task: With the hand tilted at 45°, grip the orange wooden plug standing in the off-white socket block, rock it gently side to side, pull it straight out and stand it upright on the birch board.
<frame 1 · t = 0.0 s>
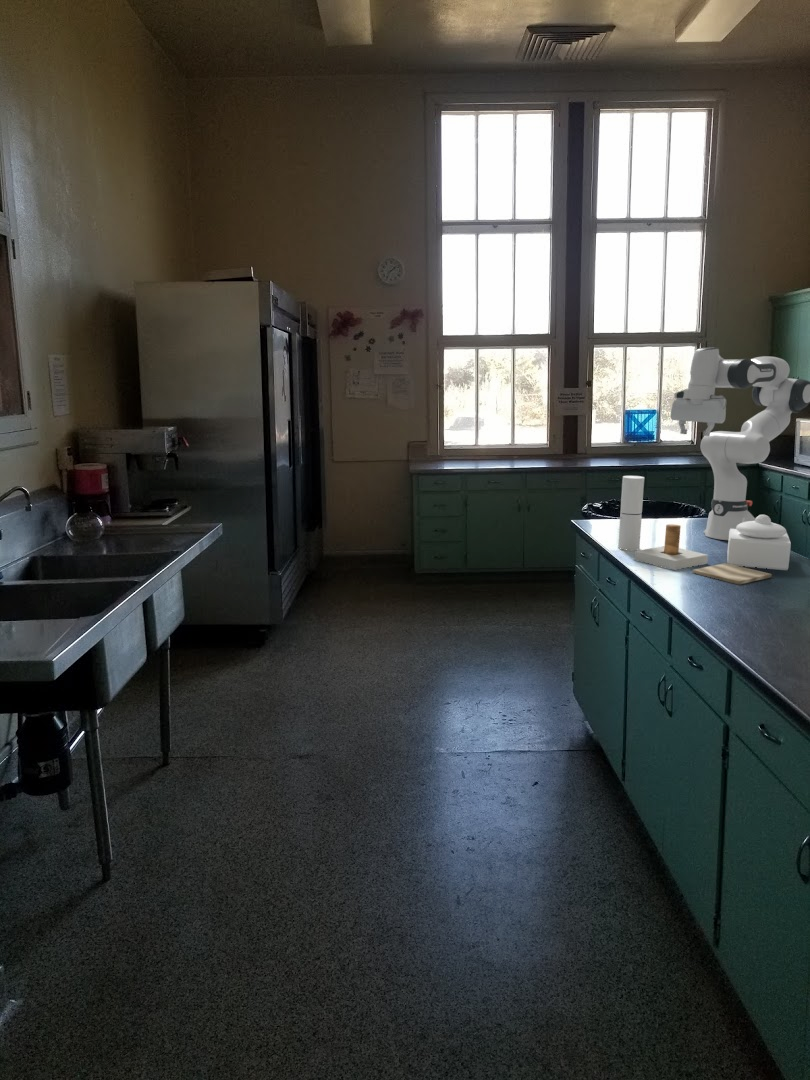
hand: (694, 435, 275), 39 cm above the counter, tool pointing down, fingers open, 8 cm apart
board: (731, 575, 240), on the counter
butter dish: (756, 562, 258), on the counter
socket block: (670, 561, 257), on the counter
cylindrical container: (628, 548, 276), on the counter
plug: (671, 543, 255), in the socket block
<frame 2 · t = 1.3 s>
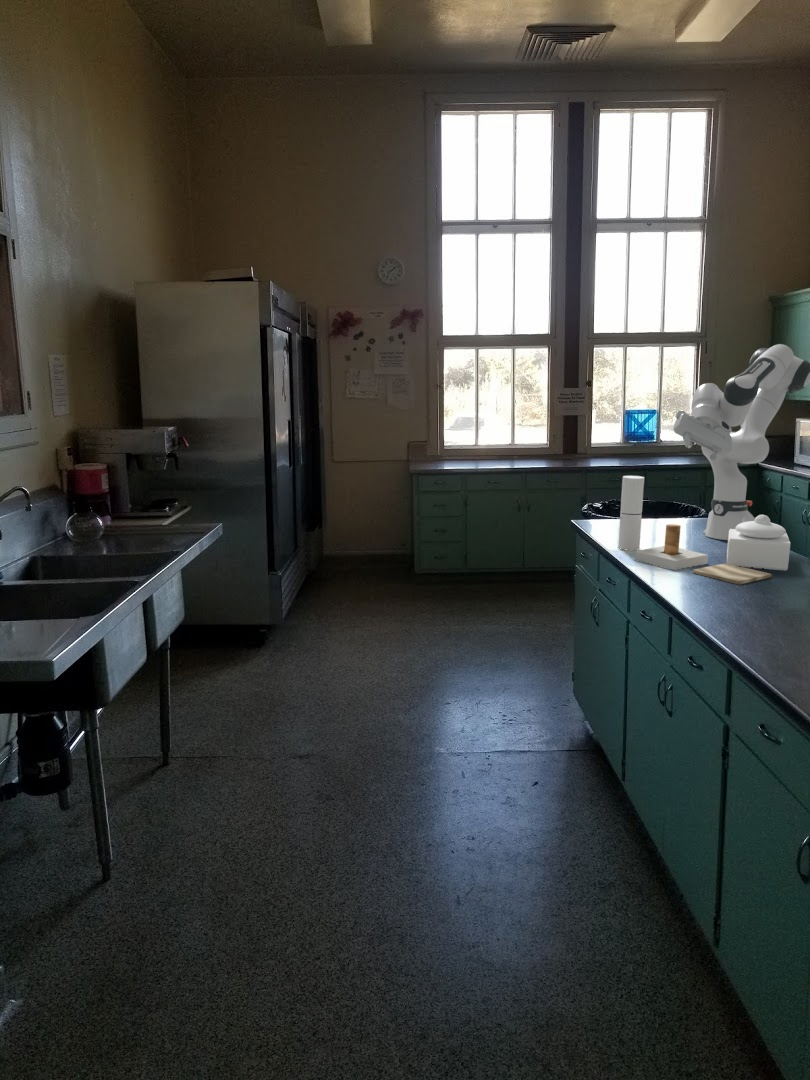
hand: (701, 452, 254), 35 cm above the counter, tool tilted 50°, fingers open, 8 cm apart
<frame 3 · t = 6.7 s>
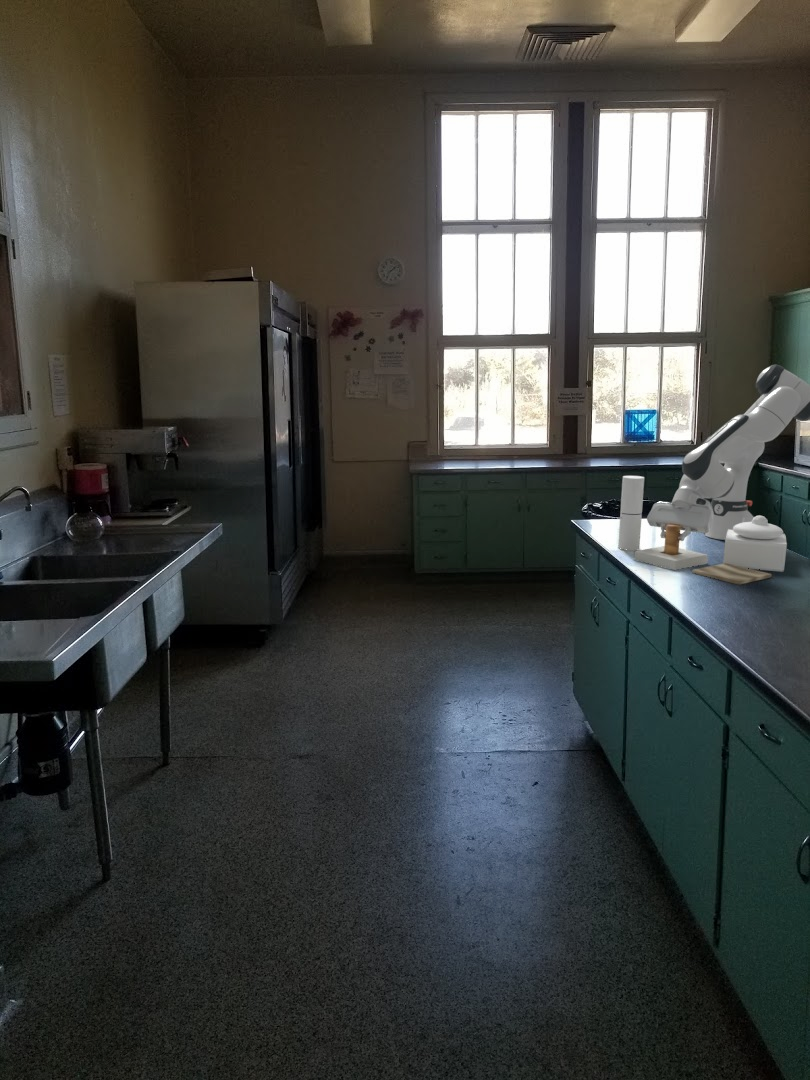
hand: (671, 538, 254), 8 cm above the counter, tool tilted 45°, fingers closed on plug, 4 cm apart
butter dish: (753, 563, 256), on the counter
plug: (671, 543, 255), in the socket block, touching gripper
everything else where it was.
when the fingers open (10 cm above the counter, at t = 14.6 s): plug drops 2 cm, resting on board.
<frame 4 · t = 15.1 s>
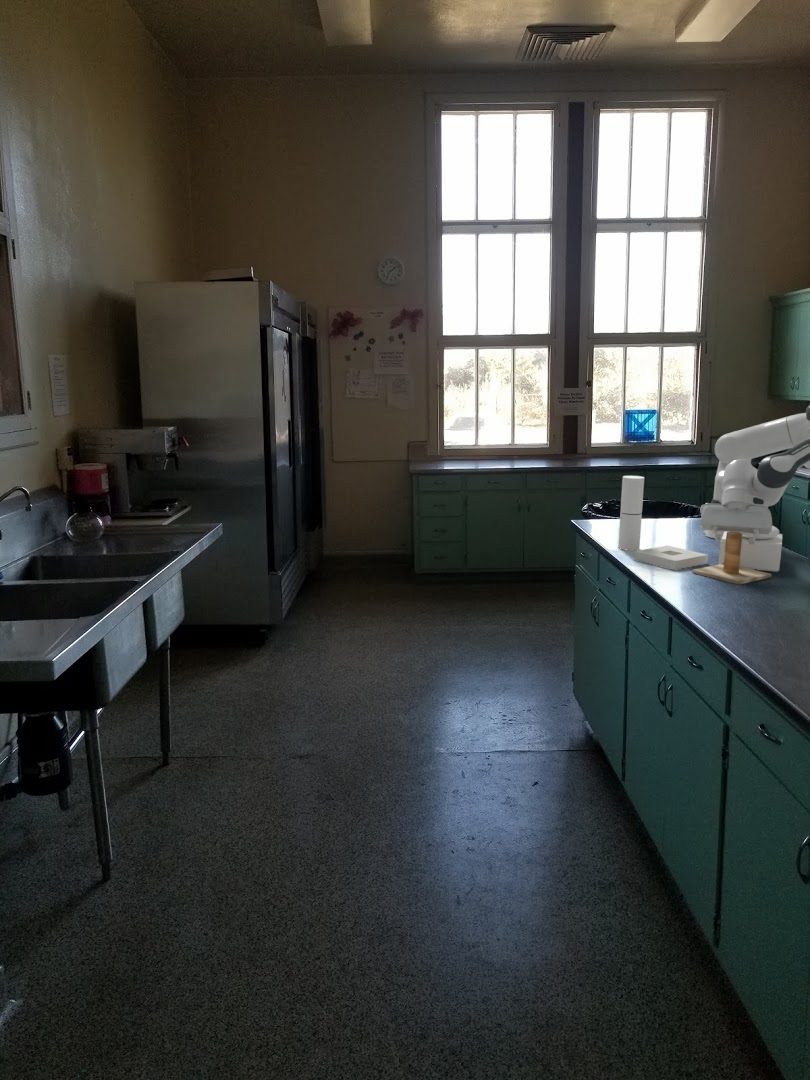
hand: (734, 542, 238), 10 cm above the counter, tool tilted 45°, fingers open, 8 cm apart
butter dish: (749, 563, 256), on the counter
plug: (732, 552, 239), on the board, point 7 cm above the counter
everything else where it was.
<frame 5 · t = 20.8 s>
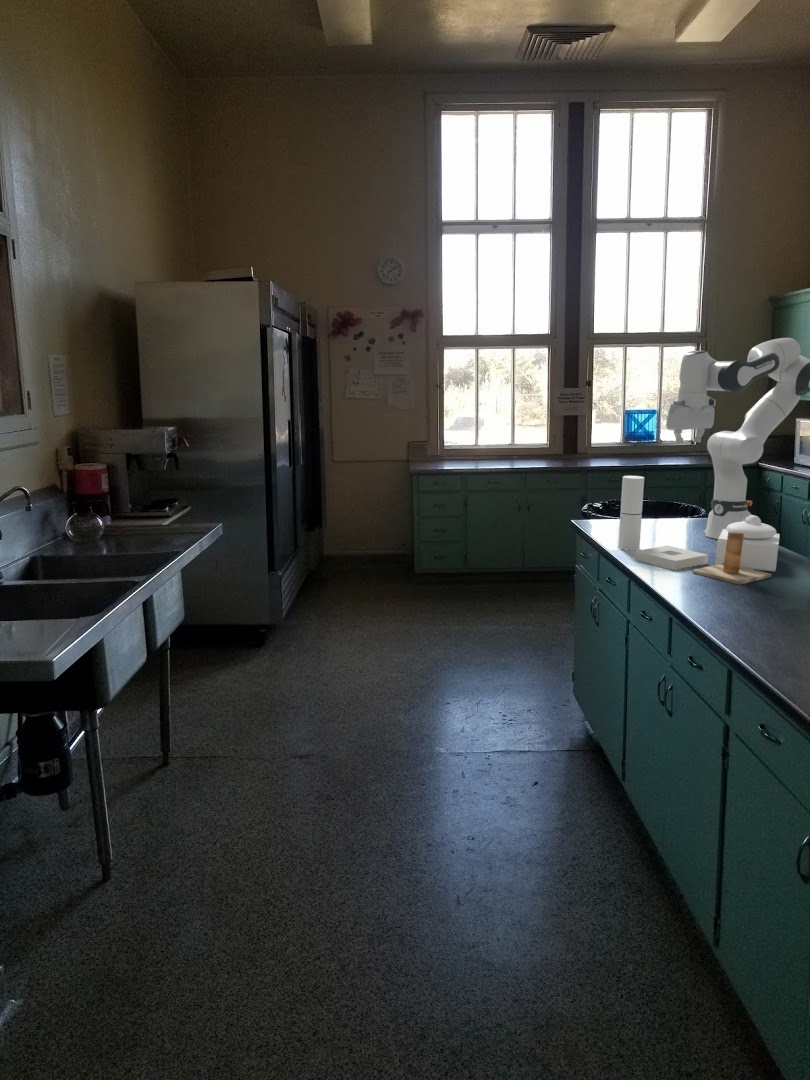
hand: (688, 442, 265), 37 cm above the counter, tool pointing down, fingers open, 8 cm apart
at the end: plug inside the target area on the board (0.3 cm from its centre), point 7.1 cm above the board's base; plug tilted 2°; the gripper is holding nothing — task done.
